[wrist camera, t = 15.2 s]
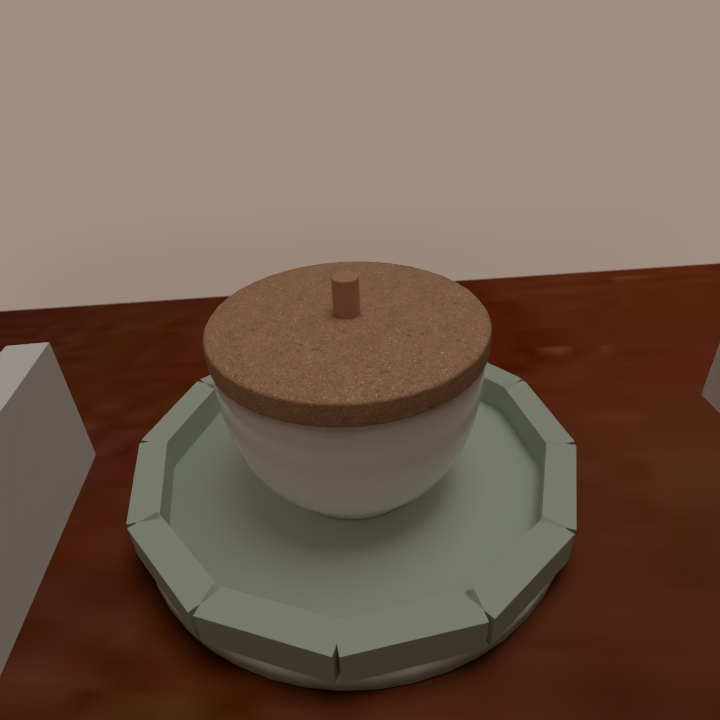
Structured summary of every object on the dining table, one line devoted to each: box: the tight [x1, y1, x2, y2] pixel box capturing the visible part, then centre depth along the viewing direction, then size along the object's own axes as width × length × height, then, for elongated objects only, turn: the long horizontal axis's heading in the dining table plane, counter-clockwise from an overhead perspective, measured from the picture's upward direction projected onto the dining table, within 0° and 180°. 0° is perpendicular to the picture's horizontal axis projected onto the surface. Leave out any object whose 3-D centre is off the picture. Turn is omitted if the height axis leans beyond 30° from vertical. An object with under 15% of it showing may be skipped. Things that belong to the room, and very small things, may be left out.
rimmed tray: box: [126, 363, 577, 691], centre depth 25 cm, size 18×18×2 cm
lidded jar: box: [202, 262, 492, 520], centre depth 23 cm, size 11×11×9 cm
